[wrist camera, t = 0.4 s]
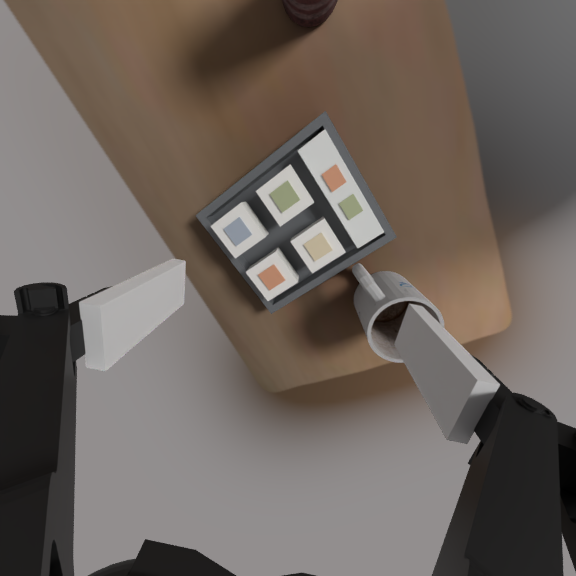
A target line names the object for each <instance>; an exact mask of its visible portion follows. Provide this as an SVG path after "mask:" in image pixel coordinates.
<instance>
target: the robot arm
mask: <svg viewBox="0 0 576 576" xmlns="http://www.w3.org/2000/svg"><path fill="white" fill-rule="evenodd" d="M185 267H186V261H184V260H178V259H171V260H169V261H167V262H164V263H162V264H160V265H158V266H156V267H154V268H151V269H149V270H147V271H145V272H143V273H141V274H138V275H136V276H134V277H132V278H130V279H128V280H125V281H123V282H121V283H119V284H117V285H115V286H111V287H107V288H103V289H101V290H99V291H97V292H95V293H92V294H90V295H88V296H87V297H83V298H81V299H79V300H77V301H75V302H72V303H71V304H69V303H68V295H67V288H66V286H65V285H62V284H58V283H35V284H29V285H24V286H22V287H19V288H17V289H16V290H15V291H14V295H15V299H16V304H17V309H18V316H4V315H0V576H74V566H73V533H74V532H73V531H74V530H73V529H74V484H75V482H74V481H75V433H76V431H75V430H76V383H77V380H76V379H77V366H76V360H77V359H79V358H80V357H81V356H83V355H84V354H85V362H86V367H87V368H92V369H97V370H102V371H106V370H107V369H109V368H110V367H111V366H112V365H113V364H114V363H115V362H117V361H118V360H119V359H120V358H121V357H123V356H124V355H125V354H126V353H127V352H128V351H130V350H131V349H132V348H133V347H134V346H135V345H137V344H138V343H139V342H140V341H141V340H142V339H143V338H145V337H146V336H147V335H148V334H149V333H150V332H152V331H153V330H154V329H155V328H156V327H157V326H159V325H160V324H161V323H162V322H163V321H164V320H166V319H167V318H168V317H169V316H170V315H171V314H173V313H174V312H175V311H176V310H177V309H178V308H179V307H181V306H182V305H183V304H184V292H185ZM394 345H395V347H396V349H397V351H398V352H399V354H400V356H401V358H402V360H403V361H404V363H405V365H406V367H407V369H408V370H409V372H410V374H411V376H412V378H413V380H414V381H415V383H416V385H417V387H418V389H419V390H420V392H421V394H422V396H423V398H424V399H425V401H426V403H427V405H428V406H429V409H430V410H431V412H432V414H433V416H434V417H435V419H436V421H437V423H438V425H439V427H440V428H441V430H442V432H443V434H444V436H445V438H446V439H447V440H450V441H456V442H460V443H465V444H467V443H468V442H469V440H470V438H471V436H472V434H473V433H474V431H475V433H476V434H477V436H478V437H479V439H480V440H481V441H480V443H479V445H478V447H477V448H476V450H475V452H474V453H473V455H472V457H471V459H470V460H469V462H468V464H470V468H469V471H468V474H467V477H466V479H465V482H464V485H463V488H462V491H461V494H460V497H459V500H458V503H457V505H456V508H455V511H454V514H453V517H452V519H451V522H450V525H449V528H448V531H447V534H446V537H445V539H444V543H443V545H442V548H441V551H440V554H439V557H438V560H437V563H436V565H435V568H434V571H433V574H432V576H563V554H562V534H563V537H564V540H565V543H566V546H567V549H568V551H569V554H570V557H571V560H572V562H573V565H574V568H575V571H576V428H573V427H570V426H568V425H565V424H562V423H560V422H557V419H556V417H555V415H554V414H553V413H552V412H551V411H550V410H549V409H548V408H546V407H545V406H544V405H542V404H540V403H539V402H537V401H535V400H533V399H532V398H529V397H527V396H525V395H522V394H518V393H512V392H511V391H510V390H509V389H508V388H507V387H506V386H505V385H504V384H503V383H502V382H501V381H500V380H499V379H498V378H497V377H496V376H494V375H493V373H492V372H491V371H490V370H489V369H487V367H486V366H485V365H484V364H483V363H482V362H481V361H480V360H478V359H477V358H475V357H474V356H472V355H471V354H469V353H468V352H467V351H466V350H465V349H464V348H463V347H462V346H461V345H460V344H459V343H458V342H457V341H456V340H455V339H454V338H453V337H452V336H451V335H450V334H449V333H448V332H447V331H446V330H445V329H444V328H443V327H442V325H441V324H440V323H439V322H438V321H437V320H436V319H435V318H434V317H433V316H432V315H431V314H430V313H429V312H428V311H427V310H426V309H425V308H424V307H423V306H419V305H414V304H409V305H408V308H407V310H406V313H405V316H404V319H403V322H402V324H401V327H400V330H399V333H398V335H397V338H396V341H395V344H394ZM88 576H236V575H234V574H233V573H231V572H229V571H228V570H226V569H225V568H223V567H222V566H220V565H219V564H217V563H215V562H214V561H212V560H210V559H209V558H207V557H206V556H204V555H203V554H201V553H200V552H198V551H196V550H193V549H188V548H184V547H179V546H174V545H170V544H165V543H160V542H155V541H151V540H146V539H145V541H144V543H143V545H142V547H141V550H140V551H139V553H138V556H137V558H136V559H132V560H126V561H123V562H119V563H115V564H112V565H110V566H108V567H105V568H103V569H100V570H98V571H96V572H94V573H92V574H90V575H88ZM284 576H315V575H310V574H306V573H297V574H290V575H284Z"/></svg>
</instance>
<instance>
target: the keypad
mask: <svg viewBox="0 0 576 576" xmlns="http://www.w3.org/2000/svg"><path fill="white" fill-rule="evenodd" d="M289 165H291V166H292V167H293V169H294V171H295V172H296V174H297V175H298V177H299V179H300V180H301V182H302V183H303V185H304V186H305V188H306V190H307V191H308V193H309V194H310V196H311V198H312V199H313V201H314V203H313V204H312V205H310V206H309V207H307V208H306V209H305V210H303V211H302V212H300V213H299V214H297V215H296V216H295V217H293V218H292V219H290V220H289V221H288V222H286V223H285V224H283V225H282V226H281V227H280V226H279V225H278V223H277V222H276V220H275V219H274V217H273V216H272V214H271V213H270V211H269V210H268V209H267V207H266V206H265V204H264V203H263V201H262V200H261V198H260V197H259V195H258V194H257V193H256V191H257V190H258V189H259V188H260V187H262V186H263V185H264V184H266V183H267V182H268V181H269V180H271V179H272V178H273V177H275V176H276V175H277V174H279V173H280V172H281V171H282V170H284V169H285V168H286V167H288V166H289ZM241 202H247V203H248V204H249V206H250V207H251V209H252V210H253V212H254V213H255V214H256V216H257V217H258V219H259V220H260V221H261V223H262V224H263V226H264V227H265V229H266V230H267V231H268V233H269V234H268V235H267V236H266V237H265V238H264V239H262V240H261V241H259V242H258V243H257V244H255V245H254V246H252V247H251V248H250V249H248V250H247V251H245V252H244V253H242V254H241V255H240V256H238V257H237V258H234V257H233V255H232V254H231V253H230V251H229V250H228V249H227V247H226V246H225V245H224V243H223V242H222V241H221V240H220V238H219V237H218V236H217V234H216V233H215V232H214V230H213V229H212V228H211V225H213V224H214V223H215V222H217V221H218V220H219V219H220V218H222V217H223V216H224V215H226V214H227V213H228V212H229V211H231V210H232V209H233V208H235V207H236V206H237V205H238V204H240V203H241ZM323 216H324V218H325V220H326V221H327V223H328V224H329V226H330V228H331V229H332V231H333V232H334V234H335V235H336V237H337V239H338V240H339V242H340V243H341V245H342V247H343V248H344V250H345V252H346V253H344V254H343V255H341V256H339V257H338V258H336V259H335V260H333V261H331V262H330V263H328V264H327V265H325V266H323V267H322V268H320V269H319V270H317V271H315V272H314V273H312V272H311V271H310V270H309V268H308V267H307V265H306V264H305V262H304V261H303V259H302V258H301V256H300V255H299V254H298V252H297V251H296V249H295V248H294V246H293V245H292V243H291V242H290V241H291V238H292V237H294V236H295V235H296V234H298V233H299V232H301V231H302V230H304V229H305V228H307V227H308V226H310V225H311V224H313V223H314V222H315V221H317V220H318V219H320V218H321V217H323ZM196 217H197V218H198V219H199V221H200V222H201V223H202V225H203V226H204V227H205V229H206V230H207V231H208V232H209V234H210V235H211V236H212V238H213V239H214V240H215V241H216V243H217V244H218V245H219V247H220V248H221V249H222V251H223V252H224V253H225V254H226V256H227V257H228V258H229V260H230V261H231V262H232V264H233V265H234V266H235V267H236V269H237V270H238V271H239V273H240V274H241V275H242V276H243V278H244V279H245V280H246V282H247V283H248V284H249V286H250V287H251V288H252V289H253V291H254V292H255V293H256V295H257V296H258V297H259V299H260V300H261V301H262V302H263V304H264V305H265V306H266V308H267V309H268V310H269V311H270V313H271V314H272V313H273V312H275V311H277V310H278V309H280V308H282V307H283V306H285V305H286V304H288V303H290V302H291V301H293V300H295V299H296V298H298V297H300V296H301V295H303V294H304V293H306V292H308V291H309V290H311V289H313V288H314V287H316V286H318V285H319V284H321V283H322V282H324V281H326V280H327V279H329V278H331V277H332V276H334V275H336V274H337V273H339V272H340V271H342V270H344V269H345V268H347V267H349V266H350V265H352V264H354V263H355V262H357V261H358V260H360V259H362V258H363V257H365V256H367V255H368V254H370V253H372V252H373V251H375V250H376V249H378V248H380V247H381V246H383V245H385V244H386V243H388V242H390V241H391V240H393V239H394V238H396V235H395V233H394V231H393V230H392V228H391V226H390V224H389V223H388V221H387V219H386V217H385V216H384V214H383V212H382V210H381V208H380V207H379V205H378V203H377V201H376V200H375V198H374V196H373V194H372V192H371V191H370V189H369V187H368V185H367V184H366V182H365V180H364V178H363V177H362V175H361V173H360V171H359V169H358V168H357V166H356V164H355V162H354V161H353V159H352V157H351V155H350V154H349V152H348V150H347V148H346V146H345V145H344V143H343V141H342V139H341V138H340V136H339V134H338V132H337V131H336V129H335V127H334V125H333V123H332V122H331V120H330V118H329V116H328V115H327V113H326V111H325V112H324V113H322V114H321V115H320V116H319V117H317V118H316V119H315V120H314V121H312V122H311V123H310V124H309V125H307V126H306V127H305V128H304V129H302V130H301V131H300V132H299V133H297V134H296V135H295V136H294V137H292V138H291V139H290V140H289V141H288V142H286V143H285V144H284V145H283V146H281V147H280V148H279V149H278V150H276V151H275V152H274V153H273V154H271V155H270V156H269V157H268V158H266V159H265V160H264V161H263V162H261V163H260V164H259V165H258V166H256V167H255V168H254V169H253V170H251V171H250V172H249V173H248V174H246V175H245V176H244V177H243V178H242V179H240V180H239V181H238V182H237V183H235V184H234V185H233V186H232V187H230V188H229V189H228V190H227V191H225V192H224V193H223V194H222V195H220V196H219V197H218V198H217V199H215V200H214V201H213V202H212V203H210V204H209V205H208V206H207V207H205V208H204V209H203V210H202V211H200V212H199V213H198V214H197V215H196ZM278 247H279V248H280V250H281V251H282V253H283V254H284V255H285V257H286V258H287V260H288V261H289V263H290V264H291V265H292V267H293V268H294V270H295V271H296V272H297V274H298V275H299V279H298V283H296V284H295V285H293V286H292V287H290V288H288V289H287V290H285V291H284V292H282V293H281V294H279V295H277V296H276V297H274V298H273V299H271V300H269V301H267V300H266V298H265V297H264V296H263V294H262V293H261V292H260V291H259V289H258V288H257V287H256V285H255V284H254V283H253V281H252V280H251V279H250V277H249V276H248V275H247V274H246V271H247V270H248V268H249V267H250V266H251V265H253V264H254V263H256V262H257V261H259V260H260V259H262V258H263V257H264V256H266V255H267V254H269V253H270V252H272V251H273V250H275V249H276V248H278Z"/></svg>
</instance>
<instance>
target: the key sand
mask: <svg viewBox="0 0 576 576" xmlns="http://www.w3.org/2000/svg"><path fill="white" fill-rule="evenodd" d="M290 242H291V243H292V245H293V246H294V248H295V249H296V251H297V252H298V254H299V255H300V256H301V258H302V259H303V261H304V262H305V264H306V265H307V267H308V268H309V270H310V271H311V272H312V273H314V272H315V271H317V270H319V269H320V268H322V267H323V266H325V265H327V264H328V263H330V262H331V261H333V260H335V259H336V258H338V257H339V256H341V255H343V254H344V253H346V252H345V250H344V248H343V247H342V245H341V243H340V242H339V240H338V239H337V237H336V235H335V234H334V232H333V231H332V229H331V228H330V226H329V224H328V223H327V221H326V220H325V218H324V216H323V217H321V218H320V219H318V220H317V221H315V222H314V223H313V224H311V225H310V226H308V227H307V228H305V229H304V230H302V231H301V232H299V233H298V234H296V235H295V236H294V237H292V238H291V241H290Z"/></svg>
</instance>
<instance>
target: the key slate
mask: <svg viewBox="0 0 576 576" xmlns="http://www.w3.org/2000/svg"><path fill="white" fill-rule="evenodd" d="M211 228H212V229H213V230H214V232H215V233H216V234H217V236H218V237H219V238H220V240H221V241H222V242H223V243H224V245H225V246H226V247H227V249H228V250H229V251H230V253H231V254H232V255H233V257H234V258H237V257H238V256H240V255H241V254H242V253H244V252H245V251H247V250H248V249H250V248H251V247H252V246H254V245H255V244H257V243H258V242H259V241H261V240H262V239H264V238H265V237H266V236H267V235H268V234H269V233H268V231H267V230H266V229H265V227H264V226H263V224H262V223H261V221H260V220H259V219H258V217H257V216H256V214H255V213H254V212H253V210H252V209H251V207H250V206H249V204H248V203H247V202H241V203H240V204H238V205H237V206H236V207H235V208H233V209H232V210H231V211H229V212H228V213H227V214H226V215H224V216H223V217H222V218H220V219H219V220H218V221H217V222H215V223H214V224H213V225H211Z"/></svg>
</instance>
